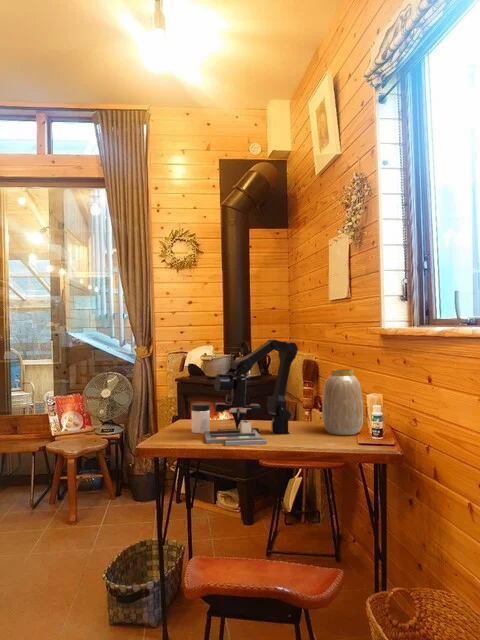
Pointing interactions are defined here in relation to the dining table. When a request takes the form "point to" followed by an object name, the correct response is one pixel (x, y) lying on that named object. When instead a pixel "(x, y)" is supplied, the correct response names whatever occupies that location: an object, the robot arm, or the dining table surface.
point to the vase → (342, 403)
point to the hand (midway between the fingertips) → (236, 428)
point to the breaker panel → (228, 436)
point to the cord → (239, 429)
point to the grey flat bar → (245, 442)
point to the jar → (200, 417)
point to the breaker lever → (245, 426)
